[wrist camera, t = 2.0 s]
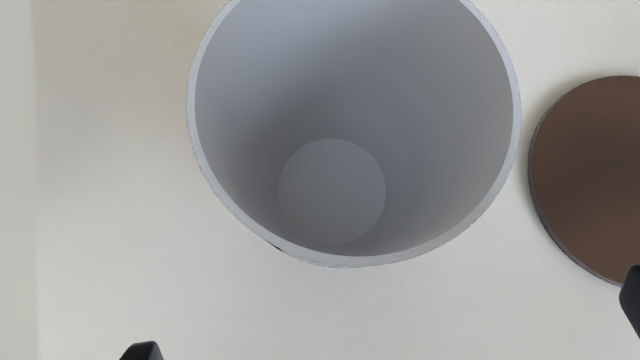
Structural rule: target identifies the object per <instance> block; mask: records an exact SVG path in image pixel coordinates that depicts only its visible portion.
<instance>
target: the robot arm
mask: <svg viewBox="0 0 640 360" xmlns="http://www.w3.org/2000/svg"><path fill="white" fill-rule="evenodd" d="M619 301H620V305H621V307H622V309H623V311H624V313H625V314H626V316H627V318H628V320H629V321H630V323H631V325H632V326H633V328H634V330H635V332H636V333H637V335H638V337H639V338H640V263H639V264H634V265H631V266H630V267H629V268H628V270H627V273H626V276H625V279H624V282H623V285H622V288H621V291H620V294H619ZM119 360H163V357H162V354H161V352H160V349H159V347H158V345H157V343H156V342H155V341H147V342H141V343H135V344H132V345H131V346H130V347H129V348H128V349H127V350H126V352H125V353H124V354H123V355H122V357H121V358H120V359H119Z"/></svg>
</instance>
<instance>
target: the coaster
mask: <svg viewBox="0 0 640 360" xmlns="http://www.w3.org/2000/svg"><path fill="white" fill-rule="evenodd" d="M528 178H529V185H530V190H531V195H532V198H533V201H534V204H535V207H536V210H537V212H538V214H539V216H540V218H541V221H542V223H543V224H544V226H545V227H546V229H547V231H548V232H549V234H550V235H551V237H552V238H553V239H554V240H555V242H556V243H557V244H558V245H559V247H560V248H561V249H562V250H563V251H564V252H565V253H566V254H567V255H568V256H569V257H570V258H571V259H572V260H574V261H575V262H576V263H577V264H579V265H580V266H581V267H582V268H584V269H585V270H587V271H589V272H590V273H592V274H593V275H595V276H597V277H598V278H601V279H603V280H605V281H607V282H609V283H611V284H614V285H617V286H620V287H622V285H623V282H624V279H625V276H626V273H627V270H628V268H629V267H630V266H631V265H634V264H639V263H640V77H638V76H609V77H604V78H599V79H595V80H592V81H589V82H586V83H584V84H582V85H580V86H578V87H576V88H574V89H572V90H571V91H569V92H568V93H566V94H565V95H564V96H562V97H561V98H560V99H559V100H558V101H556V102H555V103H554V104H553V105H552V106H551V107H550V108H549V110H548V111H547V112H546V113H545V115H544V116H543V117H542V119H541V121H540V123H539V124H538V126H537V128H536V130H535V133H534V136H533V138H532V141H531V146H530V150H529V158H528Z"/></svg>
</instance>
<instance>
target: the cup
mask: <svg viewBox="0 0 640 360" xmlns="http://www.w3.org/2000/svg"><path fill="white" fill-rule="evenodd" d="M186 116H187V125H188V131H189V136H190V140H191V144H192V148H193V151H194V154H195V157H196V159H197V162H198V164H199V166H200V169H201V171H202V173H203V175H204V176H205V178H206V180H207V182H208V183H209V185H210V187H211V188H212V190H213V191H214V192H215V194H216V195H217V197H218V198H219V199H220V200H221V202H222V203H223V204H224V205H225V206H226V208H227V209H228V210H229V211H230V212H231V213H232V214H233V215H234V216H235V217H236V218H237V219H238V220H239V221H241V222H242V223H243V224H244V225H245V226H247V227H248V228H249V229H250V230H252V231H253V232H254V233H256V234H257V235H259V236H260V237H261V238H263V239H264V240H266V241H267V242H268V243H270V244H271V245H273V246H274V247H276V248H277V249H279V250H280V251H282V252H284V253H286V254H288V255H290V256H292V257H294V258H296V259H299V260H301V261H304V262H307V263H310V264H314V265H319V266H324V267H332V268H356V267H365V266H373V265H382V264H388V263H394V262H399V261H403V260H406V259H410V258H413V257H416V256H419V255H422V254H424V253H427V252H429V251H431V250H433V249H435V248H437V247H439V246H441V245H443V244H445V243H447V242H448V241H450V240H451V239H453V238H455V237H456V236H457V235H459V234H460V233H462V232H463V231H464V230H465V229H467V228H468V227H469V226H470V225H471V224H473V223H474V222H475V221H476V220H477V219H478V218H479V217H480V216H481V215H482V214H483V213H484V211H485V210H486V209H487V208H488V207H489V205H490V204H491V203H492V202H493V200H494V199H495V197H496V196H497V194H498V193H499V191H500V190H501V188H502V186H503V185H504V183H505V181H506V179H507V177H508V174H509V172H510V170H511V167H512V165H513V162H514V159H515V156H516V152H517V148H518V143H519V138H520V131H521V100H520V92H519V86H518V82H517V78H516V74H515V71H514V68H513V65H512V62H511V60H510V57H509V55H508V53H507V50H506V48H505V46H504V45H503V43H502V41H501V39H500V37H499V36H498V34H497V33H496V31H495V30H494V28H493V27H492V25H491V24H490V23H489V21H488V20H487V19H486V18H485V16H484V15H483V14H482V13H481V12H480V11H479V10H478V9H477V8H476V7H475V6H474V5H473V4H472V3H471V2H470V1H469V0H231V1H230V2H229V3H228V4H227V5H226V6H225V7H224V8H223V9H222V10H221V11H220V13H219V14H218V15H217V16H216V18H215V19H214V20H213V22H212V23H211V25H210V26H209V28H208V29H207V31H206V33H205V34H204V36H203V38H202V40H201V42H200V44H199V46H198V49H197V51H196V54H195V56H194V59H193V62H192V66H191V69H190V74H189V79H188V85H187V94H186Z"/></svg>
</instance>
